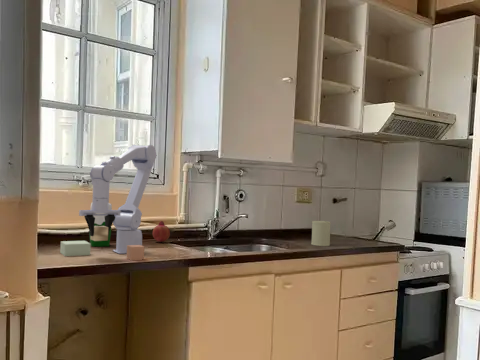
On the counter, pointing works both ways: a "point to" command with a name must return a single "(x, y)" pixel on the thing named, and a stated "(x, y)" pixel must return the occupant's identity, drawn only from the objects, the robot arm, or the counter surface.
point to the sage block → (75, 248)
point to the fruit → (161, 232)
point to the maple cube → (100, 233)
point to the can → (321, 233)
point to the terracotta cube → (135, 252)
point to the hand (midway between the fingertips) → (99, 235)
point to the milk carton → (100, 222)
